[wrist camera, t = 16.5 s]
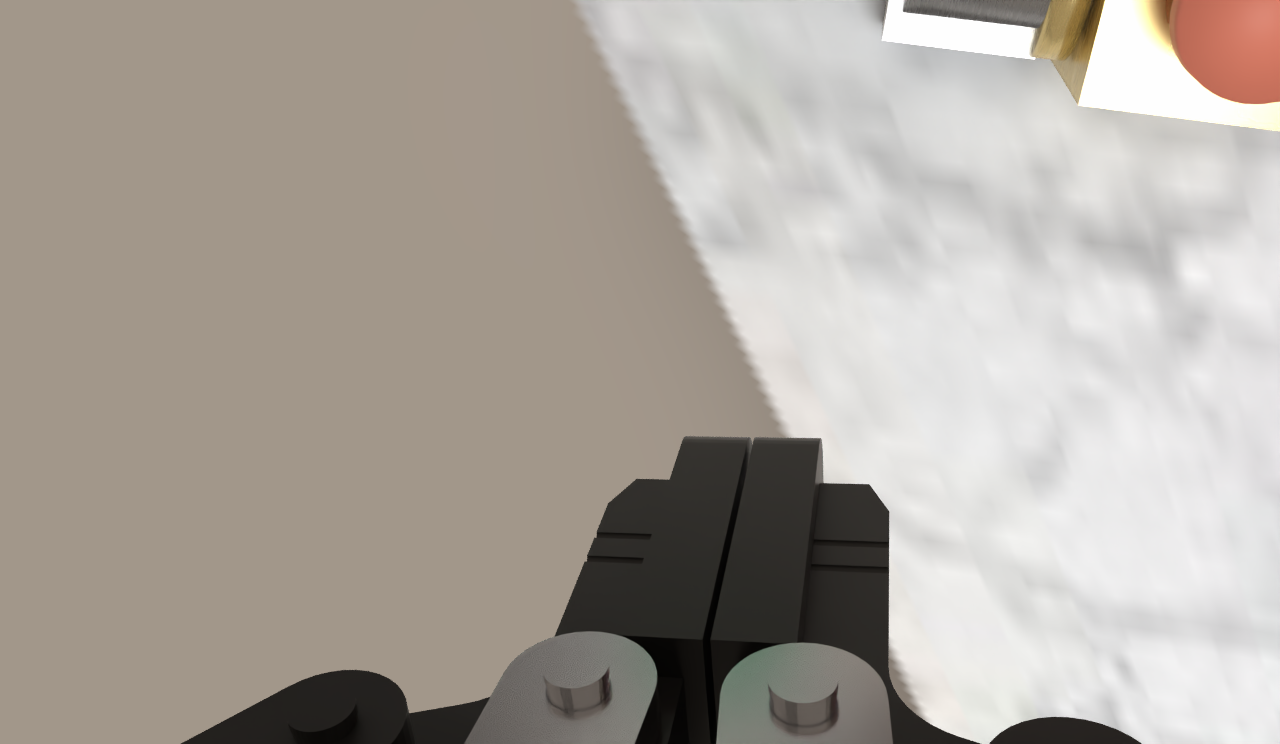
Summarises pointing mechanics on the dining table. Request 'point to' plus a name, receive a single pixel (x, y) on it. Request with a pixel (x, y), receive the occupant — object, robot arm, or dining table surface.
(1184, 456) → the dining table surface
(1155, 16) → the valve
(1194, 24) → the lever
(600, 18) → the dining table surface
